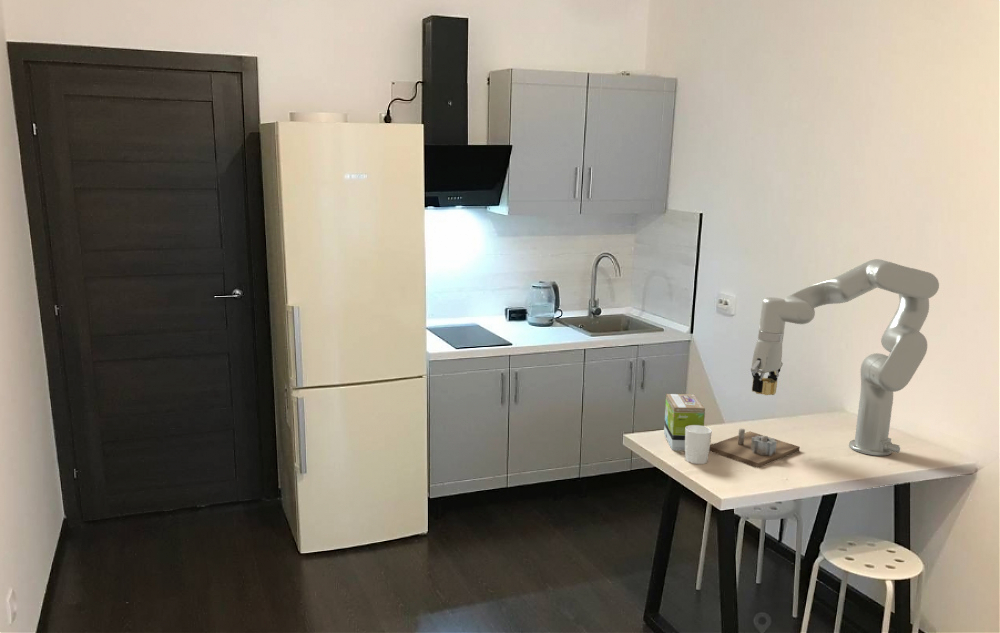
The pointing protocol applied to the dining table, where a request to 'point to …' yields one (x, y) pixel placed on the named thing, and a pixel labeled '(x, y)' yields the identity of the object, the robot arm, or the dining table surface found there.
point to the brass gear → (768, 387)
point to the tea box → (681, 417)
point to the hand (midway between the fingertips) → (764, 389)
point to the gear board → (742, 451)
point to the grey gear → (763, 446)
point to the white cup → (697, 443)
